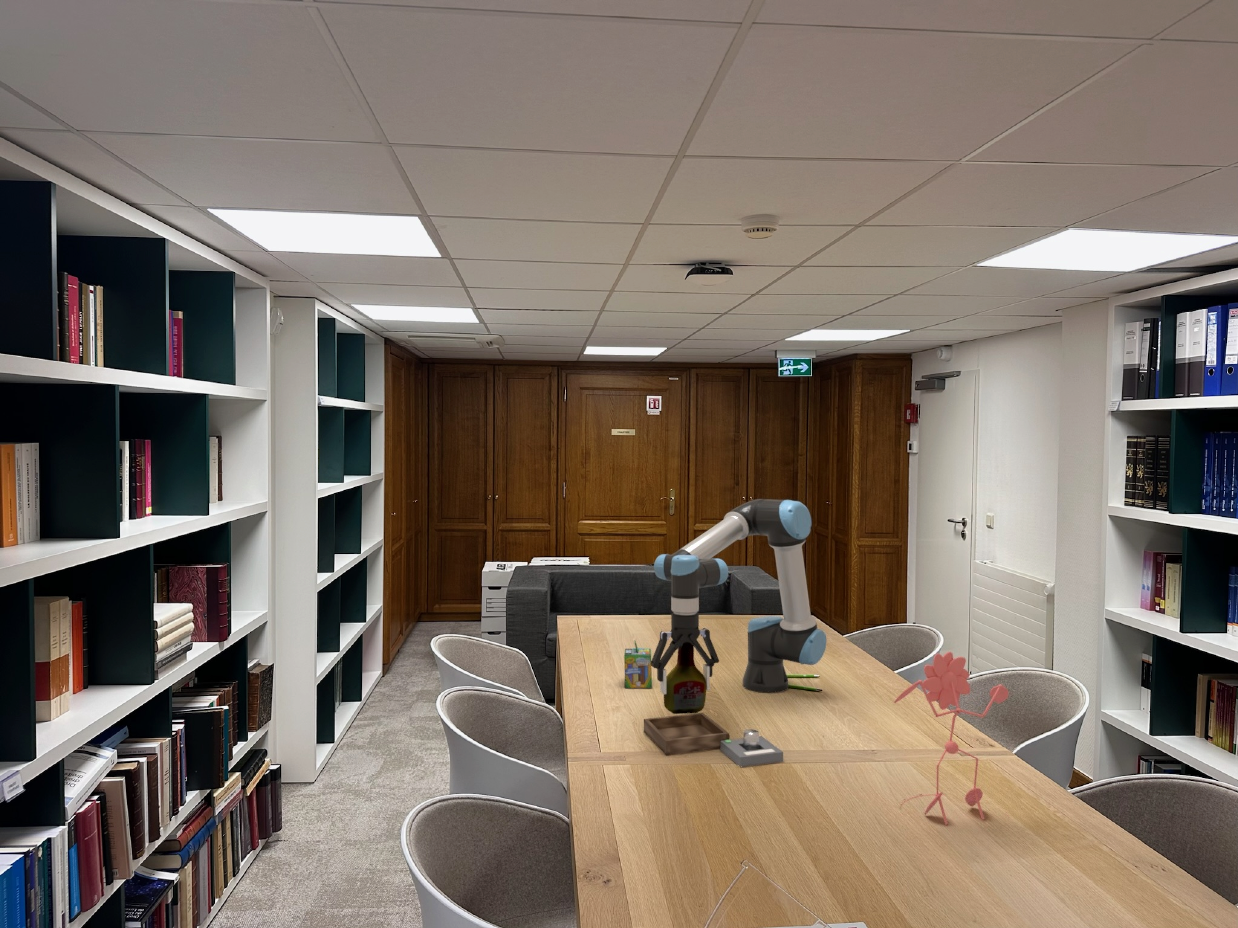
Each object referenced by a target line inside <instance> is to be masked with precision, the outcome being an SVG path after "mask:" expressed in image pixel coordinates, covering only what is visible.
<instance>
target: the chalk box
mask: <svg viewBox="0 0 1238 928" xmlns="http://www.w3.org/2000/svg"><path fill="white" fill-rule="evenodd" d="M634 645H635V648H624V653H623V654H624V655H623V658H624V659H623V660H624V689H652V688H653V684H652V683H653V680H652V679H653V678H652V675H653V674H652V666H651V665H650V664H651V661H652V650H651V649H652V648H641V647H638V645H637V642H636V640H634Z"/></svg>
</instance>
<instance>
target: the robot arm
mask: <svg viewBox="0 0 1238 928" xmlns="http://www.w3.org/2000/svg"><path fill="white" fill-rule="evenodd" d="M811 527H812V516H811V513H810V511H809V509H808V508H807V506H806V505H805V504H803V503H802V502H801V501H799V500H791V499H771V498H770V499H766V498H757V499H752V500H750V501H747V502H745V503H742V504H740V505H739V506H736V507H735V508H733V509H731V510H730V511H729V512H727V513H726V514H725V515H724V517H723V520H721V521H719V522H718V523H717V524H715V525H713V527H711V528H710V529H708V530H706V531H704V533H702V534H701V535H699V536H698V537H696V538H695V539H692V541H690V542H688V543H687V544H686V545H684V546H682V547H681V548H680V549H678V550H677V551H676V552H673V553H672V554H669V553H666V554H665V553H663V554H659V555H658V556H657V557H656V559H655V561H654V563H653V570H654V574H655V575H656V577H657V578H659V579H661V580H664V581H667V582H670V583H671V599H670V601H671V602H670V603H671V607H670V609H671V611H672V612H671V614H670V617H671V618H670V619H671V621H670V627H671V629H670V631H663V630H661V631H660V632H659V640H658V643H657V645H656V648H655V651H654V652H653V653H654V654H653V655H652V657H651V664H650V665H651V668H653V669H656V675H657V677H656V679H657V681H658V682H660V683H659V684H660V685H659V687H660V689H659V690H660V693H661V694H662V695H664V694H666V676H667V669H666V666H667V664H668V663H669V661H670V660H671V658H672V657H673V656H674V654H675V652H676V651H678V648H679V646H680V647H682V645H683V643H685V642H690V643H691V644H692V645H694V650H695V651H696V652H697V653H699V656H700V657H701V658H702V659H703V661H704V662H705V663H703V664H702V674H703V675H704V677H705V679H706V691H710V682H711V681H710V680H711V679H710V678H712V677H713V667H714V666H715V664H718V663H719V662H720V658H719V656H718V654H717V651H716V650H715V647H714V644H713V642H712V639H711V631H710V630H709V629H708V628H706V627H704V628H702V629H700V628H699V627H700V625H699V623H700V621H699V620H700V619H699V618H700V617H699V614H700V613H699V611H700V607H699V605H700V602H699V601H700V600H699V597H700V595H699V594H700V591H699V589H701V588H702V589H703V588H708V587H709V588H710V587H717V586H718V585H721V584H724V583H726V581H727V579H728V576H729V568H728V565H727V564H726V562H725V561H724V560H723V559H721V558H714V556H716V555H717V554H719V553H720V552H721V551H723V550H725V549H726V548H728V547H729V546H730V545H732V544H733V543H735V542H736V541H737V540H740V541H741V540H744V539H746V538H748V537H749V536H766V537H767V541H768V545H769V547H771V548H773V550H774V557H775V564H776V571H777V580H778V587H779V594H780V600H781V601H780V602H781V606H782V607H781V608H782V616H783V617H782V616H775V615H773V616H772V615H771V616H770V615H769V616H760V617H755V618H752V619H750V620H749V621H748V625H747V665H746V668H745V671H744V674H743V678H742V687H743V688H744V689H746V690H750V691H752V692H757V693H766V694H767V693H771V694H772V693H780V692H785V691H787V690H788V689H789V682H790V681H789V678H788V675H787V672H786V668H785V665H784V661H788V662H792V663H798V664H800V665H808V666H814V665H816V664H818V663H819V662H821V661H820V660H822V658H823V656H824V653H825V651H826V648H827V634H826V633H825V631H824V630H823V629H820V628H818V623H817V620H816V618H814V617H813V616H812V614H811V608H810V599H809V592H808V585H807V584H808V583H807V577H806V568H805V562H804V561H805V560H804V553H803V545H804V544H805V543H806V541H807V540H806V538H807V537H809V535H810V533H811V530H812V529H811ZM670 637H671V639H672V640H671V642H670V643H669V646H668V647H667V649H666V650H665V648H666V645H667V643H668V641H669V638H670ZM699 637H701V638H702V640H703V642H704V645H705V647H706V649H707V651H708V653H706V651H705V650H704V648H703V646H701V644H700V642H699V640H698V638H699ZM664 650H665V652H664ZM708 654H709V655H708Z"/></svg>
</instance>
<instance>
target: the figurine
mask: <svg viewBox="0 0 1238 928" xmlns="http://www.w3.org/2000/svg"><path fill="white" fill-rule="evenodd" d="M966 663H967V659H966V658H965V657H964V656H957V657H955V658H954V654H953V652H952V651H946V652H945V654H943V656H942V654H940V653H939V652H938V653H935V654H934V657H933V659H932V665H931V664H926V665H924V667H923V671H924V675H925V677H926V679H924V680H922V679H918V681H917V680H916V682H914V683H913V684H910V686H908V687H907V688H906V689H904V691H903V692H902V693H900V694H899V695H898V697H896V699H894V701H893V703H894V704H896V703H898V702H900V701H901V700H902V699H904V698H906V697H907V696H908V695H909V694H910V693H912V692H913V691H914V690H915V689H916V688H918V686H919V685H920V687H921V689H922V692H923V694H924V696H925V698H926V701H927V702H928V704H929V706H930V707H931V710H932V712H933V714H934V716H935V718H939V717H942V716H946V715H949V714H953V716H952V721H951V727H950V736H949V740H948V741H947V742H946V743H945V745H944V752H943V753H942V754H941V757H940V758H939V761H938V762H937V764H936V793H935V794H933V793H932V794H929V796H934V798H933V799H932V801H931V802H930V803H929V804H928V806H927V807H926V809H925V811H924V815H927V814H928V812H929V813H930V810H931V809H933V807H934V806H935V805H936V804H937V803H939V807H940V810H941V814H942V817H943V821H944V825H945V826H946V825H948V824H949V823H948V819H947V817H946V812H945V809H944V806H943V802H942V799H941V797H942V796H944V794H943V791H941V792H939V767H940V764H942V763H941V762H942V760H943V758H944V757H945V755H946V753H948V754H950V755H954V754H957V753H958V752H961V753H963V754H965V755H967V756H969V757H971V758H973V759H975V769H974V770H975V771H974V782H973V788H972V789H970V790H969V791H967V793H966V794H965V797H964V800H965V803H966V804H967V805H968V806H969V807H974V806H975V805H976V804H977V807H978V808H977V809H978V811H979V814H980V817H981V820H985V817H984V813H983V810H982V807H981V802H980V801H981V800H982V798H983V791H982V789H981V788H979V787H977V777H978V767H979V757H977V756H974V755H972V754H970V753H968V752H966V751H964V750H962V749H960V748H959V745H958V743H957V742H956V741H953V734H954V729H955V722H956V718H957V716H958V715H959V714H961V713H964V714H967V715H971V716H975V717H979V718H982V719H983V718H985V716H986V715H987V713H988V711H989V710H990V708H991V707H992V705H993V704H994V702H995V703H997V704H998V705H999V704H1001V703H1003V702H1004V701H1006V700H1007V699H1008V697H1009V694H1010V693H1009V690H1008V689H1007V687H1006V686H1003V685H1002V684H998V685H995V686H993V687H992V688H991V689H990V691H989V697H990V699H991V700H990V701H989V703H988V705H987V706H986V708H985V710H984V711H983V713H982V714H980V713H977V712H973V711H969V710H965V709H964V710H963V709H961V708H960V704H959V703H960V696H961V695H965V696H966V695H969V694H970V693H971V686H970V684H969V682H968V679H969V678H970V673H969V671H968V670H967V669H966V668H965V666H966ZM927 691H928V692H927ZM937 701H938V706H939V709H940V710H941V711H943V710H944V711H943V712H940V713H938V712H937V711H936V708H935V706H934V705H933V703H932V702H937ZM950 705H951V706H953V707H956V708H955V709H951V710H948V711H945V710H946V709H947V708H949V706H950ZM924 796H925V797H926V796H927V794H922V793H921V794H920V795H916V796H913V797H910V798H908V799H906V798H905V799H906V800H905V799H903V801H902V804H900V806H902V805H903V804H904V803H905V802H907V801H909V800H911V799H915V798H917V797H918V798H919V797H924ZM1004 813H1005V815H1007V816H1008V813H1006V812H1004Z"/></svg>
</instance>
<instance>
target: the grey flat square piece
mask: <svg viewBox="0 0 1238 928" xmlns="http://www.w3.org/2000/svg"><path fill="white" fill-rule="evenodd" d="M719 750H720V751H721V752H722V753H723V754H725V756H726V757H728V758H729V759H730V760H731V761H732V760H733V761H732V762H734V764H736V765H737V766H738V765H739V766H740V767H739V766H738V767H739V768H745V766H746V767H752V766H761V765H768V764H776V763H782V762H784V751H782V750H781V749H780V748H778V747H777V746H776V745H774V744H773V743H771V742H770V741H769V740H768V739H766V738H765V737H764V736H762V735H759V749H758V750H750V751H746V750H745V749H744V748H743V737H742V738H735V739H733V738H732V739H729V740H724V741H720V749H719ZM741 766H742V767H741Z"/></svg>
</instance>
